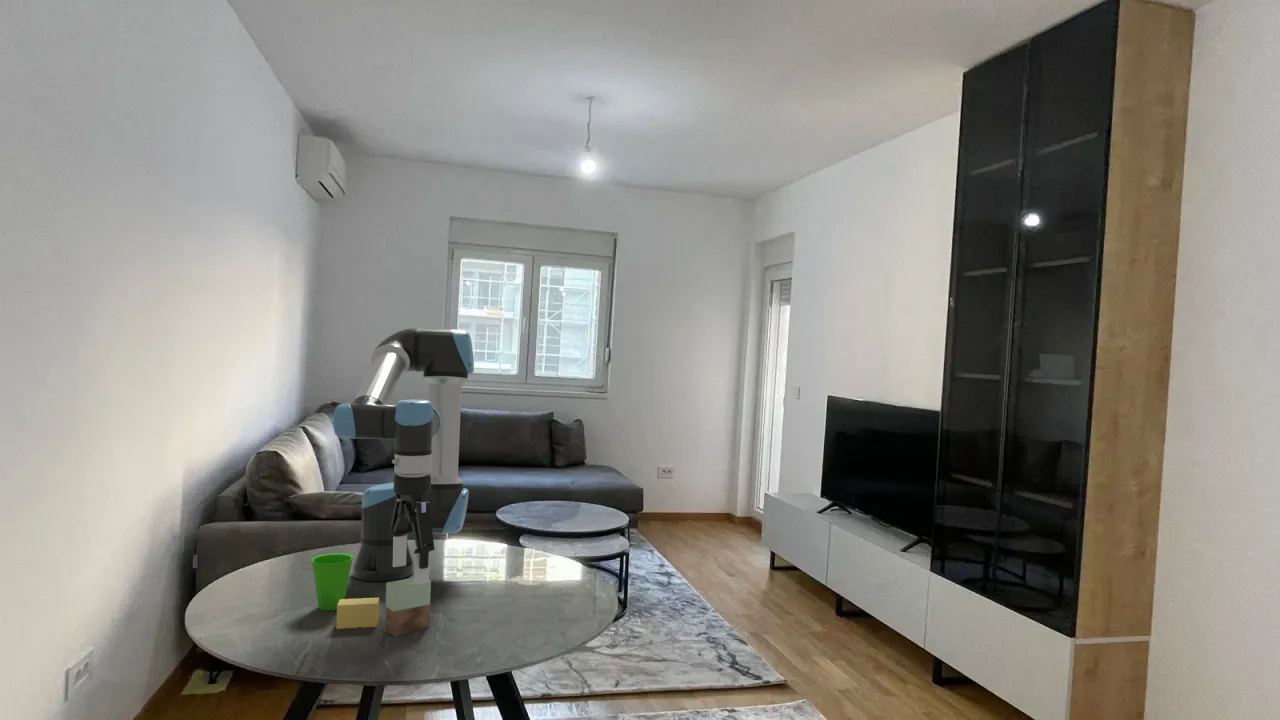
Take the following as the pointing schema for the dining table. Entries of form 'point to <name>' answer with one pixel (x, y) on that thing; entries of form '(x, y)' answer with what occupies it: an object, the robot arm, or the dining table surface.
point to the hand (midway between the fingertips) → (410, 574)
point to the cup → (331, 578)
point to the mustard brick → (357, 613)
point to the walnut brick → (407, 619)
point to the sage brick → (407, 594)
